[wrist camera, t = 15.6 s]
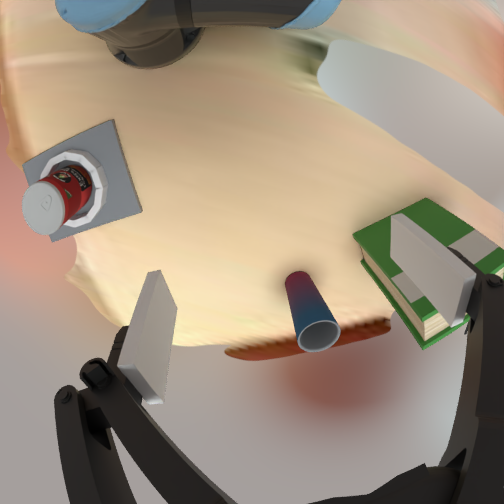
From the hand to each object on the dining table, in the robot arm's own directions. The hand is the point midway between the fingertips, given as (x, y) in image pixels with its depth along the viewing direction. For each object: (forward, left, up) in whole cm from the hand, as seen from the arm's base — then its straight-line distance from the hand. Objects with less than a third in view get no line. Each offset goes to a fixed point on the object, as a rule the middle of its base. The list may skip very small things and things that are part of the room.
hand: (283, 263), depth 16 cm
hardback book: (+19, +26, -32) cm, 45 cm away
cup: (+25, +5, -32) cm, 41 cm away
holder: (-4, -28, -32) cm, 42 cm away
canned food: (-4, -28, -31) cm, 42 cm away
